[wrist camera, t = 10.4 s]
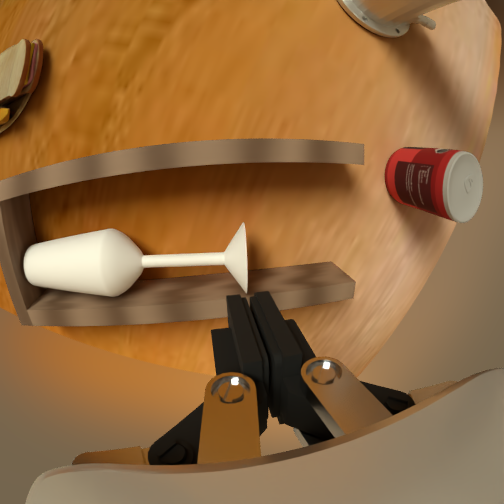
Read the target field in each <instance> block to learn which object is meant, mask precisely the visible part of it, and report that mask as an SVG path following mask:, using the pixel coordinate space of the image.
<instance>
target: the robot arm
mask: <svg viewBox="0 0 504 504" xmlns="http://www.w3.org/2000/svg"><path fill="white" fill-rule="evenodd" d="M457 1H460V0H338V2H339V4H340V5H341V6H342V7H343V9H344V10H345V11H346V12H347V13H348V14H349V15H350V16H351V17H352V18H353V19H354V20H355V21H356V22H357V23H359V24H360V25H362V26H363V27H364V28H366V29H368V30H369V31H371V32H373V33H375V34H378V35H380V36H384V37H388V38H395V37H399V36H402V35H404V34H405V33H406V32H407V31H408V30H409V27H410V23H416V24H419V23H420V24H421V25H422V26H424V27H426V28H428V29H430V30H433V29H435V27H436V23H435V21H433V20H432V19H430V18H428V17H426V16H423V14H425V13H427V12H430V11H432V10H435V9H438V8H440V7H443V6H446V5H448V4H451V3H454V2H457ZM249 300H250V307H249V304H248V301H247V299H246V297H242V298H241V295H240V294H236V295H227V296H226V302H227V314H228V325H229V328H223V329H213V330H211V334H212V343H213V352H214V360H215V368H216V376H215V377H214V378H212V379H211V380H210V381H209V382H208V384H207V386H206V389H205V397H204V402H203V403H202V404H201V405H200V406H199V407H198V408H196V409H195V410H194V411H193V412H191V413H190V414H189V415H188V416H187V417H186V418H184V419H183V420H182V421H181V422H179V423H178V424H177V425H176V426H175V427H173V428H172V429H171V430H170V431H168V432H167V433H166V434H165V435H164V436H162V437H161V438H159V439H158V440H157V441H156V442H154V444H153V445H152V446H151V447H149V448H144V449H142V448H141V447H140V446H137V447H130V448H124V449H115V450H106V451H94V452H85V453H81V454H79V455H78V456H76V457H75V458H74V460H73V461H72V465H69V466H65V467H60V468H56V469H52V470H49V471H47V472H45V473H43V474H41V475H40V476H39V477H38V478H37V479H36V480H35V482H34V483H33V485H32V487H31V489H30V491H29V495H28V497H27V500H26V504H504V368H495V369H489V370H485V371H482V372H479V373H476V374H473V375H471V376H469V377H466V378H464V379H462V380H460V381H458V382H457V381H446V382H443V383H439V384H436V385H432V386H428V387H424V388H420V389H416V390H411V391H409V393H408V394H406V393H403V392H401V391H397V390H393V389H389V388H385V387H381V386H377V385H373V384H369V383H365V382H362V381H359V380H358V379H357V378H356V377H355V376H354V375H353V374H352V373H351V372H350V371H349V370H348V369H347V368H346V367H345V365H344V364H342V363H341V362H340V361H338V360H336V359H334V358H330V357H316V356H315V354H314V353H313V351H312V349H311V348H310V346H309V344H308V342H307V341H306V339H305V337H304V336H303V334H302V332H301V331H300V329H299V327H298V326H297V324H296V322H295V321H294V320H293V319H289V320H284V318H283V317H282V315H281V313H280V311H279V309H278V307H277V305H276V304H275V302H274V300H273V298H272V296H271V294H270V292H269V291H262V292H255V293H254V296H251V297H250V299H249ZM268 407H269V410H270V413H271V416H272V417H273V418H274V417H277V418H278V421H279V424H284V423H285V424H286V425H289V426H291V427H294V432H295V435H296V436H297V438H298V440H299V441H300V443H301V444H302V446H303V448H299V449H295V450H290V451H286V452H282V453H277V454H272V455H267V456H261V450H260V435H261V434H262V433H263V432H264V431H265V430H266V428H267V419H268Z"/></svg>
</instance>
